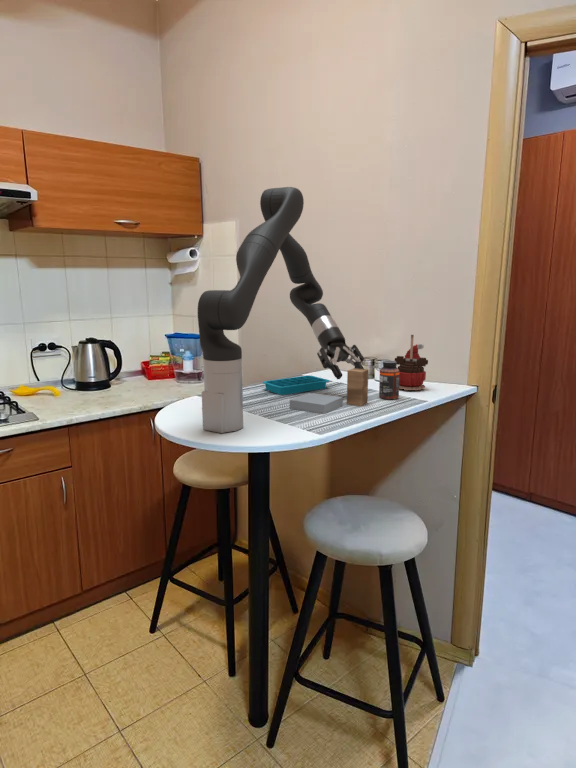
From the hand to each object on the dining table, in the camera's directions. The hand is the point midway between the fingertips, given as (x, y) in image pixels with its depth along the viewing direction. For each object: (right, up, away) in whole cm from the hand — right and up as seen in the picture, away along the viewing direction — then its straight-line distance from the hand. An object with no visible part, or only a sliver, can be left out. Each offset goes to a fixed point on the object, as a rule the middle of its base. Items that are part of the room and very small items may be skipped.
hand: (351, 376), depth 152 cm
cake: (+22, -4, +19) cm, 29 cm away
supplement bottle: (+12, -7, +7) cm, 15 cm away
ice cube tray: (-16, -4, +20) cm, 26 cm away
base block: (-11, -9, -5) cm, 15 cm away
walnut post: (+2, -8, -1) cm, 8 cm away
